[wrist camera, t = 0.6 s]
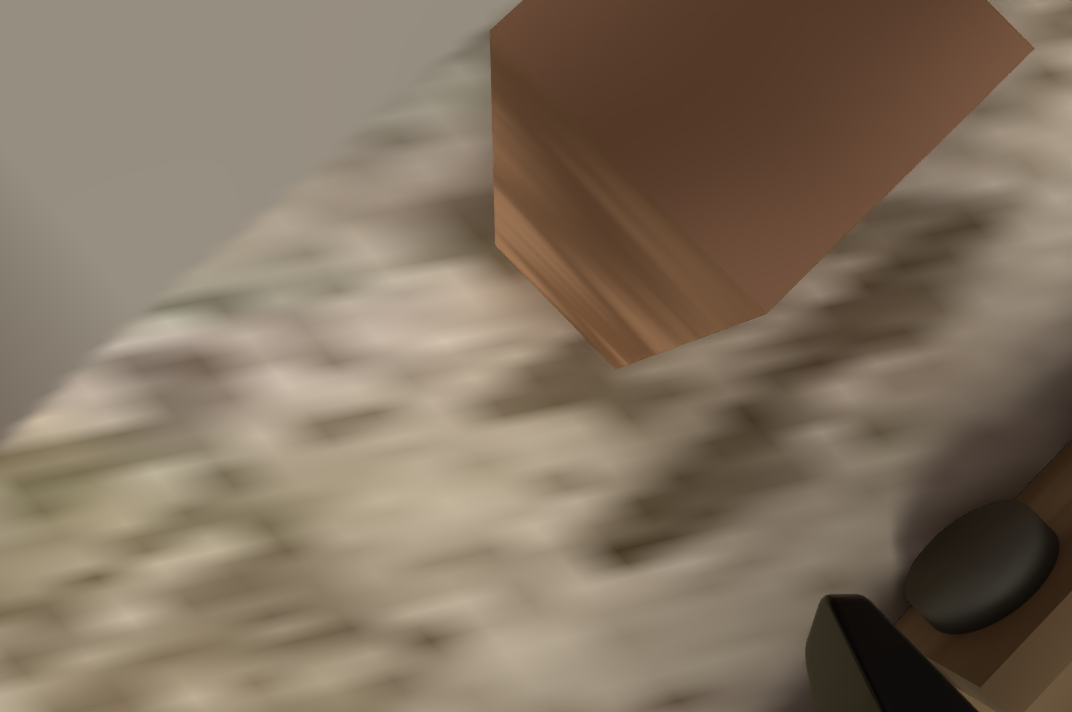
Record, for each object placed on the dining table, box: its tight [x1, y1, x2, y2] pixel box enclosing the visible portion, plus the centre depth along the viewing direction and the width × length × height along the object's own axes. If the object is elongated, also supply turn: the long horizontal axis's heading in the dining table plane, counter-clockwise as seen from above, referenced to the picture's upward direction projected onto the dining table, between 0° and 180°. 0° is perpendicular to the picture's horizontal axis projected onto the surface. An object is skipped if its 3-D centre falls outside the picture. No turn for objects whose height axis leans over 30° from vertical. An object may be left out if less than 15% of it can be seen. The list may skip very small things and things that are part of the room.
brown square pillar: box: [490, 0, 1035, 369], centre depth 17 cm, size 4×4×13 cm
